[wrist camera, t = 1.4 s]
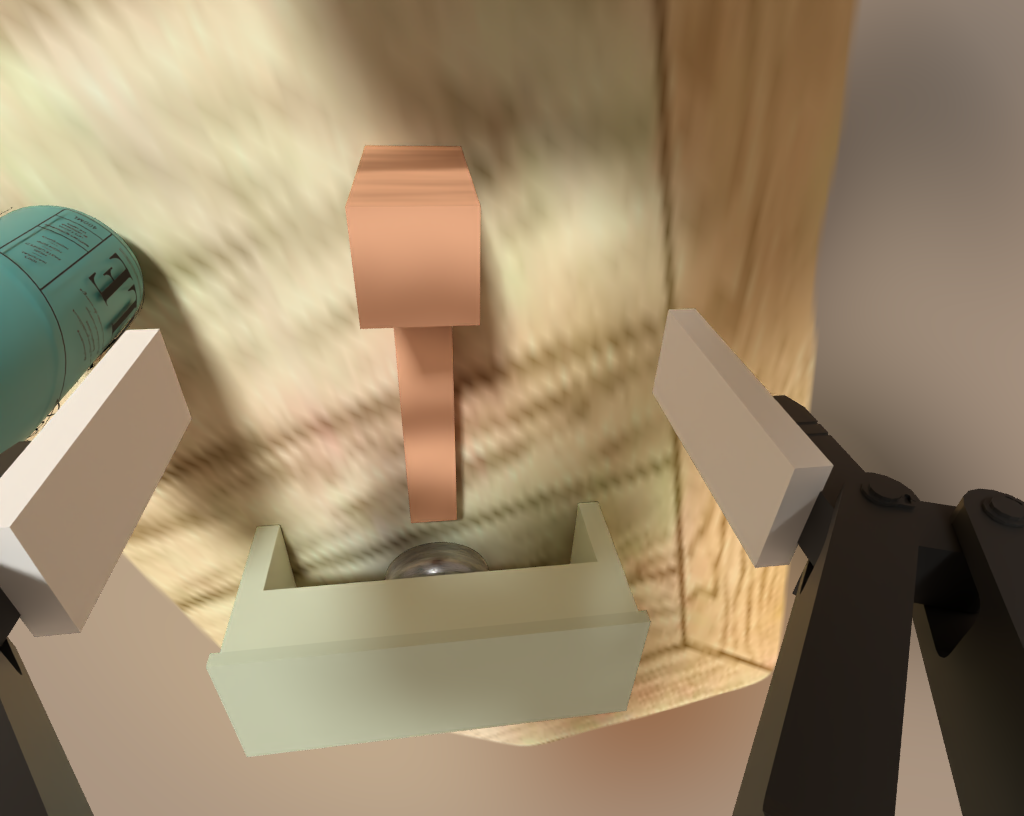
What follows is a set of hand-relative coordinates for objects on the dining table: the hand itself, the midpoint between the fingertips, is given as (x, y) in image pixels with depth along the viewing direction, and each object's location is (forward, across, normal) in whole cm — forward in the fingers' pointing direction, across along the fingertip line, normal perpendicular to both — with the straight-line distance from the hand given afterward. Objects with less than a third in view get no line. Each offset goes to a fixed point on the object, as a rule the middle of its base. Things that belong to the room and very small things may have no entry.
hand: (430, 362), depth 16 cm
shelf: (+16, -1, -27) cm, 32 cm away
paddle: (+16, -1, -9) cm, 19 cm away
